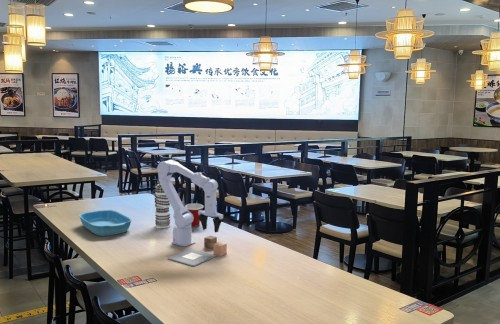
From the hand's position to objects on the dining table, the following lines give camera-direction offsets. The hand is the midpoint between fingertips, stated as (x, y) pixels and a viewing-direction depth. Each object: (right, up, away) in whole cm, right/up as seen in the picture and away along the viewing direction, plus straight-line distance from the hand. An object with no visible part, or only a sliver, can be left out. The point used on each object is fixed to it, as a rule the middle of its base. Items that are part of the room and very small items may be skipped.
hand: (210, 230), depth 213 cm
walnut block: (0, -8, +1) cm, 8 cm away
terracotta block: (+5, -10, -9) cm, 14 cm away
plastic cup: (-13, -3, +39) cm, 41 cm away
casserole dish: (-63, -4, +30) cm, 70 cm away
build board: (-7, -10, -15) cm, 19 cm away
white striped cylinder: (-31, -3, +36) cm, 48 cm away
